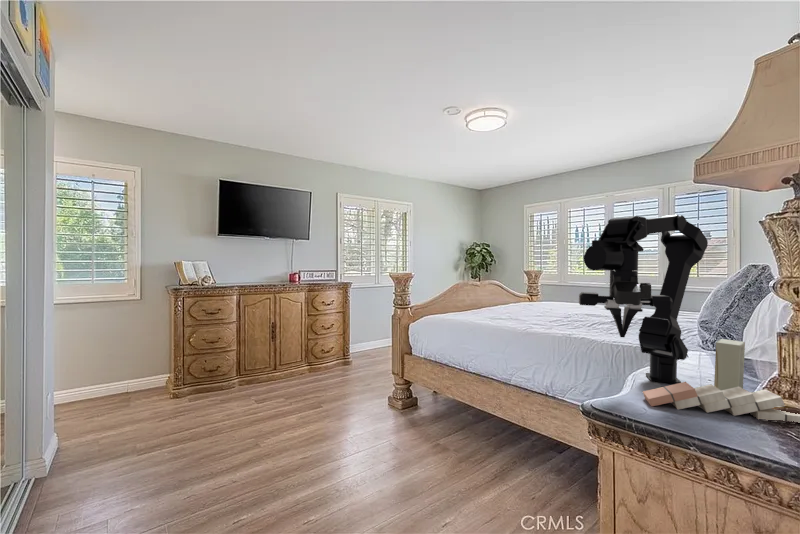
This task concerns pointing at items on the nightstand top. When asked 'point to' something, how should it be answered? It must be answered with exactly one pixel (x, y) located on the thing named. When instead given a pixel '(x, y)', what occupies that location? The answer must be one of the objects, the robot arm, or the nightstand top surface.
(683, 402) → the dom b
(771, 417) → the domino
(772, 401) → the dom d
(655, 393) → the domino
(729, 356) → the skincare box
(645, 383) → the nightstand top surface
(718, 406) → the domino
